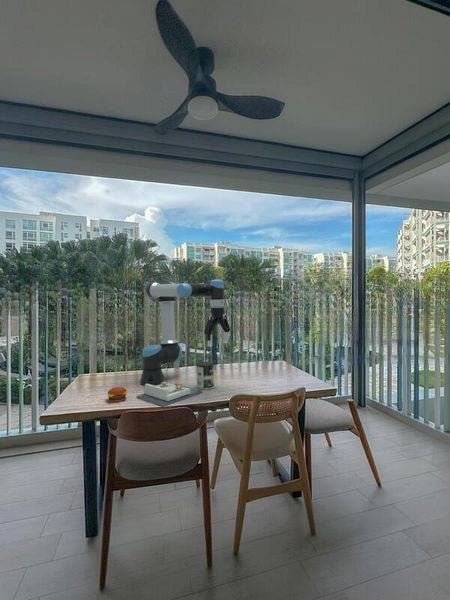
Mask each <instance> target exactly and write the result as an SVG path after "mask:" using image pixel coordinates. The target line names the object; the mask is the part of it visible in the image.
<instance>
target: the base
mask: <svg viewBox="0 0 450 600" xmlns="http://www.w3.org/2000/svg"><path fill="white" fill-rule="evenodd" d="M168 383H169V382H168V381H167V380H165V381H162V382H161V384H162V385H163V387H166V384H168ZM161 384H160V385H161ZM173 385H175V388H177V391H178V392H179V391H180V388H182V387H185V388H189V389H191V393H190V394H187V395H184V396H181V397H179V398H176V399H173V400H170V401H165V400H162V399H159V398H156V397H153V396H149V395H146V394H144V393H141V394H137V395H136V399H139V400H141V401H145V402H147V403H151V404H153V405H156V406H159V407H161V408H163V407H166V406H169V405H172V404H175V403H177V402H180V401H183V400H186V399H189V398H191V397H194V396H197V395H200V394H203V389H198V388H194V387H189V386H186V385H183V384H178V383H176V384H174V383H173Z"/></svg>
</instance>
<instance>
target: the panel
mask: <svg viewBox="0 0 450 600" xmlns="http://www.w3.org/2000/svg"><path fill="white" fill-rule="evenodd" d="M190 393H191V389H189V388H185V387H182V388H180V391H179V392H178V391H177V388H175V385H174V383H169V382H168V384H166V387H163V385H162V384H159V385H150V384H145V385H144V389H143V394H146V395H149V396H153V397H156V398H159V399H162V400H165V401H170V400H173V399H176V398H179V397H181V396H184V395H187V394H190Z"/></svg>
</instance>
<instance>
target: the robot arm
mask: <svg viewBox="0 0 450 600" xmlns="http://www.w3.org/2000/svg"><path fill="white" fill-rule="evenodd" d="M224 281H225V280H223V279H211V280H210V282H209V283H186V282H183V283H175V282H172V281H151V282H148V284H146V286H145V288H144V292H145V295H146V296H147V297H148V298H149V299H151V300H158V301H157V302H158V304H159V305H160V314H161V315H160V319H161V336H162V341H161V342H160V344H151V345H147V346H145V347H143V348H142V355H141V356H142V374H141V376H140V379H139V383H140V385H142V386H145V384H150V385H154V386H157V385H161V382H162V381H166V380H165V375H164V373H163V370H162V365H164V364H169V363H175V362H178V361H179V360H180V359H181V358H182V355H183V348H182V346H181V344H179V342H178V341H179V340H177V339H176V327H175V326H176V323H175V306H174V305H175V303H176V302H177V301H176V299H178V298H180V297H181V298H205V297H206V298H209V297H210V307H211V308H210V316H207V322H206V325H205V328H204V333H203V334H204V335H206V340H207V347H210V348H212V347H213V334H212V333H213V331H214V330H215V327H216V325H220V326H221V328H222V330H223V332H222V341H223V342H222V343H223V344H228V342H229V340H228V338H229V335H228V334H229V332H230V331H231V327H230V324H229V321H228V316H227V315H226V314H225V282H224Z"/></svg>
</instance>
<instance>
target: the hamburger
mask: <svg viewBox="0 0 450 600" xmlns="http://www.w3.org/2000/svg"><path fill="white" fill-rule="evenodd" d="M106 393H107V394H108V395H107V397H108V403H113V404H114V403H115V404H117V403H121V402H125V401H126V400H127V395H128V392H127V389H126V388H124V387H122V386H115V387H112V388H110V389H108V391H107V392H106Z"/></svg>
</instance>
